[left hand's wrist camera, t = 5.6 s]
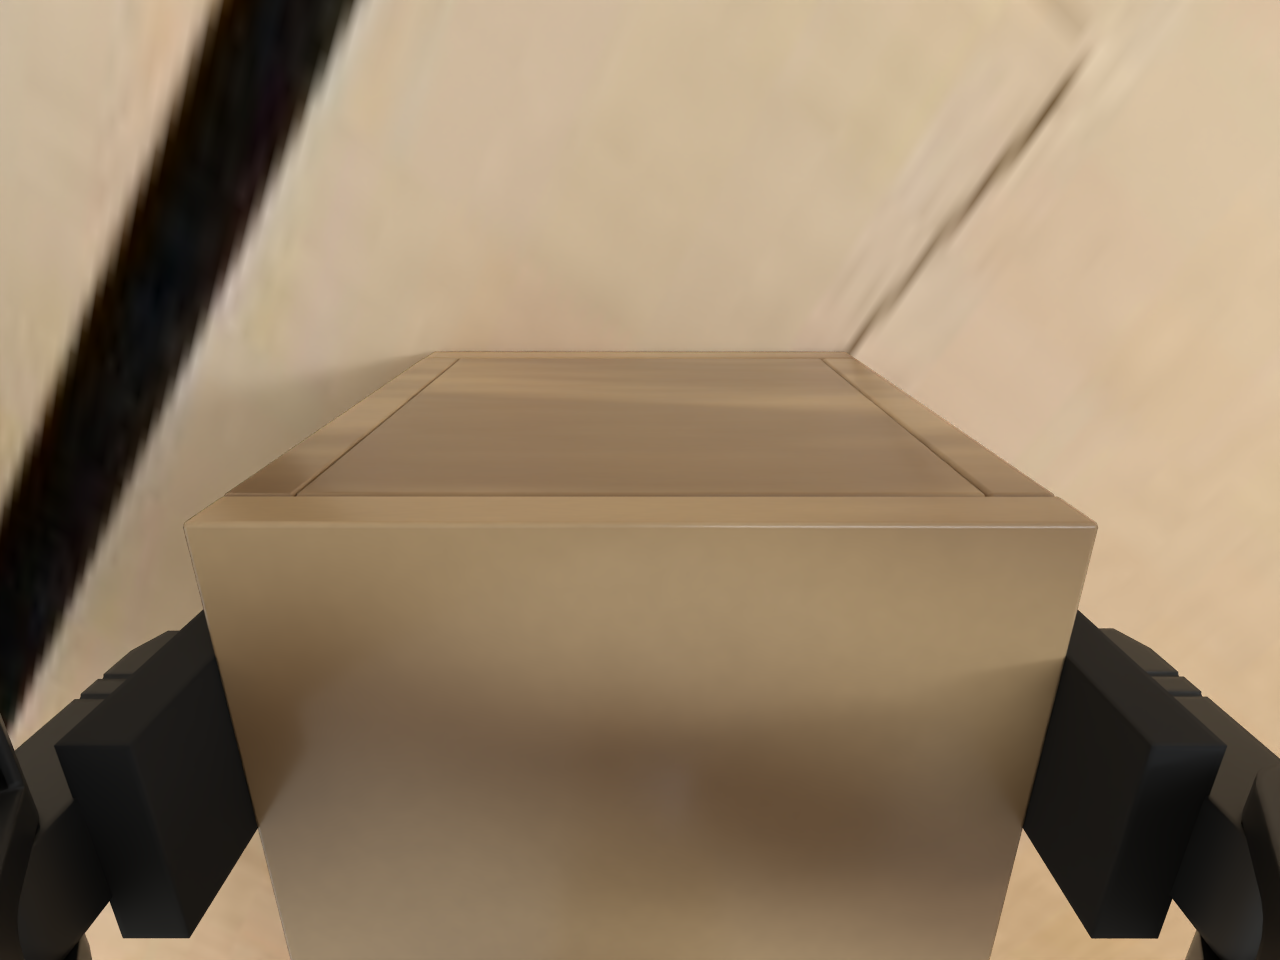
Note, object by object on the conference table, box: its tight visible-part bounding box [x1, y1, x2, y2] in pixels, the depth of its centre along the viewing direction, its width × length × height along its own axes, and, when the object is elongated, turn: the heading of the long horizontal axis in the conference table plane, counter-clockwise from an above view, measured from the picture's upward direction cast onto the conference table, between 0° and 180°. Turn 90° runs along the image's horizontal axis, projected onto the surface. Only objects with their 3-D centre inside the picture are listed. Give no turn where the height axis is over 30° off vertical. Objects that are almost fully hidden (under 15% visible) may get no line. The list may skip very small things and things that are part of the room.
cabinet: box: [183, 352, 1098, 960], centre depth 16 cm, size 21×10×10 cm, turn 0°
